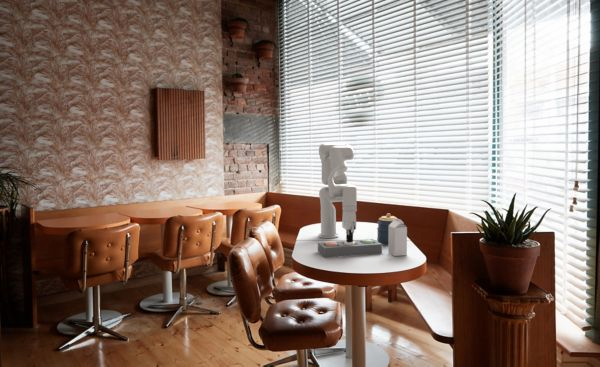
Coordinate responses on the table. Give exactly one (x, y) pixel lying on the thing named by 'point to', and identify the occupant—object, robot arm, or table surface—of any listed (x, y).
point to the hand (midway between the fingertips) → (349, 241)
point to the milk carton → (397, 238)
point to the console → (349, 249)
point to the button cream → (349, 243)
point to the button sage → (367, 241)
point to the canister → (384, 228)
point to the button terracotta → (330, 244)
